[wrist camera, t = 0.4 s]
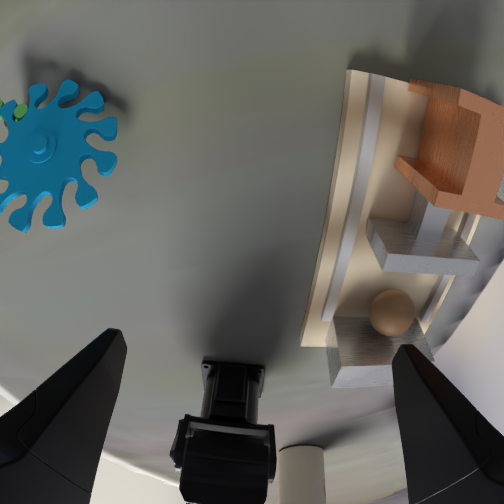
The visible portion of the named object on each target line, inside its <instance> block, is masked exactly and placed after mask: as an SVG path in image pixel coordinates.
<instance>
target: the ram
mask: <svg viewBox="0 0 504 504" xmlns="http://www.w3.org/2000/svg"><path fill="white" fill-rule="evenodd" d="M408 91H410V92H414V93H417V94H421V95H424V96H427V97H428V101H427V107H426V113H425V119H424V125H423V130H422V135H421V140H420V145H419V150H418V154H417V159H416V158H411V157H406V156H401V155H397V157H396V162H395V166H394V167H395V168H396V169H397V170H398V171H399V172H400V173H401V174H402V175H403V176H404V177H405V178H406V179H407V180H408V181H409V182H410V183H411V184H413V185H414V186H415V187H416V188H417V189H416V193H415V196H414V200H413V203H412V207H411V210H410V214H409V217H408V220H407V222H400V221H392V220H383V219H374V218H369V220H368V224H367V228H366V232H365V235H366V238H367V240H368V242H369V244H370V246H371V248H372V250H373V252H374V254H375V257H376V259H377V261H378V263H379V265H380V267H381V270H382V271H383V272H400V273H419V274H437V275H457V276H474V274H475V272H476V269H477V267H478V265H479V263H480V260H479V259H478V257H477V256H476V255H475V253H474V252H473V251H472V250H471V249H470V247H469V246H468V245H467V244H466V242H465V241H464V240H463V239H462V238H461V236H460V235H459V234H458V233H457V232H456V231H455V229H453V228H446V227H445V225H446V222H447V219H448V216H449V213H450V210H456V211H462V212H467V213H472V214H477V215H483V216H488V217H492V218H497V219H502V220H504V202H503V201H502V200H501V199H500V198H499V197H497V192H498V189H499V186H500V183H501V180H502V176H503V173H504V107H502V106H500V105H498V104H496V103H494V102H492V101H489V100H487V99H485V98H483V97H481V96H478V95H476V94H474V93H471V92H469V91H466V90H464V89H461V88H457V87H453V86H449V85H444V84H439V83H434V82H429V81H424V80H418V79H412V78H410V79H409V87H408Z"/></svg>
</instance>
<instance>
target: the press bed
mask: <svg viewBox="0 0 504 504" xmlns="http://www.w3.org/2000/svg"><path fill="white" fill-rule="evenodd" d="M408 87H409V83H407V82H403V81H400V80H396V79H392V78H388V77H385V76H381V75H377V74H373V73H366V72H361V71H356V70H349V69H347V70H346V80H345V89H344V98H343V106H342V114H341V122H340V130H339V137H338V144H337V151H336V157H335V164H334V170H333V177H332V183H331V189H330V195H329V200H328V206H327V212H326V217H325V222H324V228H323V233H322V238H321V243H320V248H319V253H318V258H317V263H316V268H315V272H314V277H313V282H312V286H311V291H310V295H309V299H308V304H307V308H306V312H305V317H304V321H303V325H302V329H301V333H300V346H305V347H326V345H325V338H326V335H327V332H328V329H329V326H330V323H331V321H332V318H333V316H344V317H369V311H370V306H371V303H372V301H373V300H374V298H375V297H376V296H377V295H378V294H379V293H381V292H382V291H385V290H388V289H399V290H402V291H404V292H405V293H407V294H408V295H409V296H410V298H411V299H412V301H413V303H414V307H415V316H414V317H417V319H418V321H419V323H420V326H421V328H422V331H423V333H424V334H425V332H426V330H427V329H428V327H429V325H430V323H431V322H432V320H433V318H434V316H435V315H436V313H437V311H438V309H439V307H440V305H441V303H442V302H443V300H444V298H445V296H446V294H447V292H448V290H449V288H450V286H451V284H452V282H453V280H454V278H455V275H437V274H419V273H400V272H383V271H382V270H381V267H380V265H379V263H378V261H377V259H376V257H375V254H374V252H373V250H372V248H371V246H370V244H369V242H368V240H367V238H366V235H365V232H366V228H367V224H368V220H369V218H374V219H383V220H392V221H400V222H407V220H408V217H409V214H410V210H411V207H412V203H413V200H414V196H415V193H416V189H417V188H416V187H415V186H414V185H413V184H411V183H410V182H409V181H408V180H407V179H406V178H405V177H404V176H403V175H402V174H401V173H400V172H399V171H398V170H397V169H396V168H395V167H394V166H395V162H396V157H397V155H401V156H406V157H411V158H416V159H417V154H418V150H419V145H420V140H421V135H422V130H423V125H424V119H425V113H426V107H427V101H428V97H427V96H424V95H421V94H417V93H414V92H410V91H408ZM480 216H481V215H477V214H472V213H467V212H462V211H456V210H450V213H449V216H448V219H447V222H446V225H445V227H446V228H453V229H455V231H456V232H457V233H458V234H459V235H460V236H461V238H462V239H463V240H464V241H465V242H466V244H467V245H468V246H469V244H470V241H471V239H472V237H473V234H474V231H475V229H476V226H477V224H478V221H479V218H480Z"/></svg>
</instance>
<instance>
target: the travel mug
mask: <svg viewBox="0 0 504 504" xmlns="http://www.w3.org/2000/svg"><path fill="white" fill-rule="evenodd" d="M277 504H326V495H325V474H324V456H323V449H322V448H319V447H317V446H312V445H299V446H292V447H288V448H285V449H283V450H281V451H280V452H279V453H278V502H277Z"/></svg>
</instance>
